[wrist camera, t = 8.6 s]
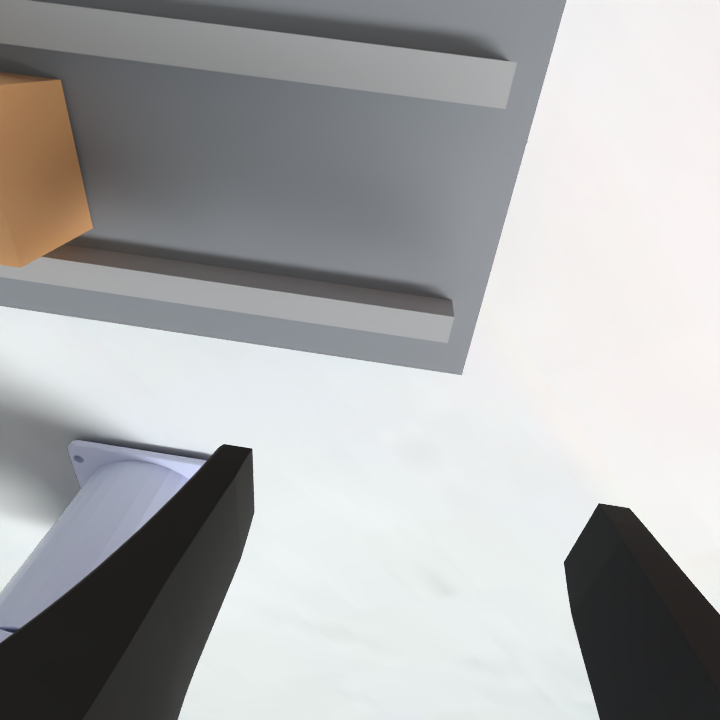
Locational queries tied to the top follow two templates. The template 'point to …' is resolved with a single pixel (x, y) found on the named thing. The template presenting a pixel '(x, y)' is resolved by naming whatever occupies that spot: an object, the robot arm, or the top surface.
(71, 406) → the top surface
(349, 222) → the rails
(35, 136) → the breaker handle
